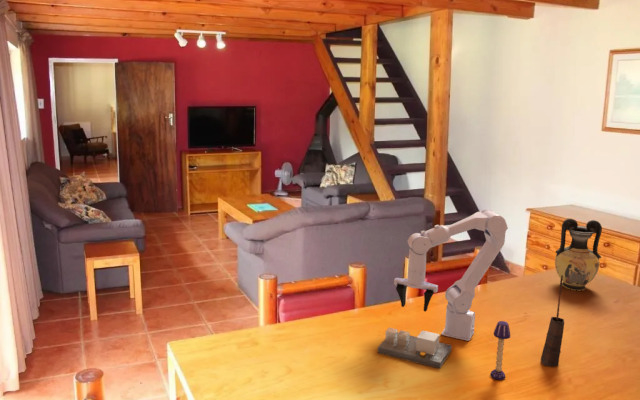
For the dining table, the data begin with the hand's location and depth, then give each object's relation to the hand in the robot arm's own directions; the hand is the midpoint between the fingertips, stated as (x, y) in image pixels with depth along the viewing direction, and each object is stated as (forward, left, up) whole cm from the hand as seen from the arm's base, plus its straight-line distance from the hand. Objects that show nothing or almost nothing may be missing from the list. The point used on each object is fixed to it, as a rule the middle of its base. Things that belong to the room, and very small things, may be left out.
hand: (414, 308), depth 185 cm
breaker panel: (-5, +12, -9) cm, 16 cm away
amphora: (-46, -79, -10) cm, 92 cm away
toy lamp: (-31, +14, -10) cm, 35 cm away
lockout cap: (-9, +12, -7) cm, 17 cm away
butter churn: (-44, -1, -10) cm, 45 cm away
